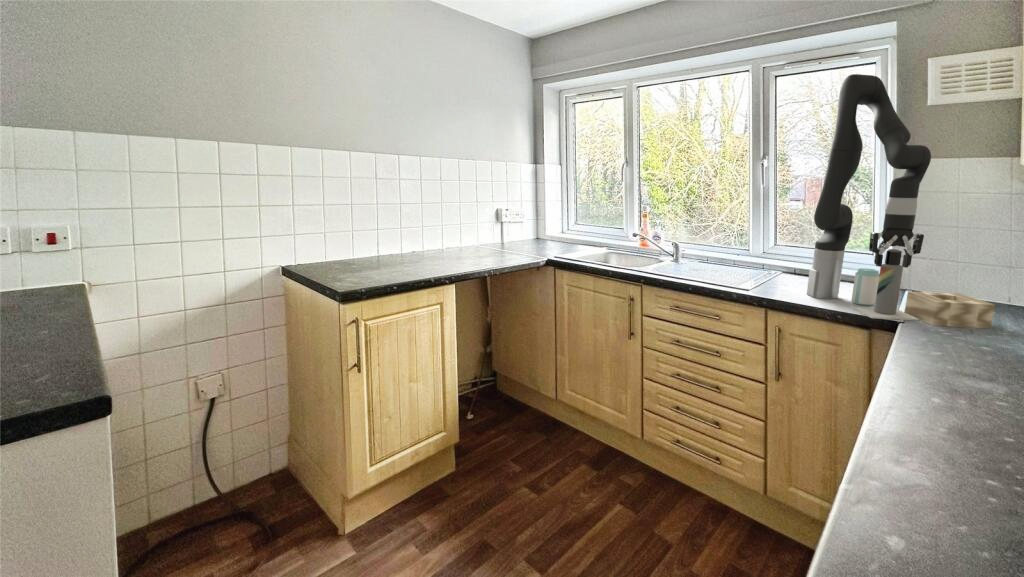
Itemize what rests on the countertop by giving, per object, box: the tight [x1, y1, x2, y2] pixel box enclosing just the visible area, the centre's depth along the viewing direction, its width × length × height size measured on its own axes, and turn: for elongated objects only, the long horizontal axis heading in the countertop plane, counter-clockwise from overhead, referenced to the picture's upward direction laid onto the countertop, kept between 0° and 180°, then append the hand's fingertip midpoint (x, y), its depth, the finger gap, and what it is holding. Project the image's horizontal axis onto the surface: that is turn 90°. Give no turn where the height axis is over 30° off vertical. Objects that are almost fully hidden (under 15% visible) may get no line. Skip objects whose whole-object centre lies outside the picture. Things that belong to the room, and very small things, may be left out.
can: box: [850, 267, 880, 307], centre depth 179 cm, size 7×7×12 cm
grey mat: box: [852, 306, 919, 321], centre depth 166 cm, size 13×13×1 cm
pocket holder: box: [903, 291, 996, 329], centre depth 159 cm, size 15×15×7 cm
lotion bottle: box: [874, 248, 904, 314], centre depth 164 cm, size 6×6×20 cm
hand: (891, 266), depth 163 cm, fingers open, 7 cm apart
